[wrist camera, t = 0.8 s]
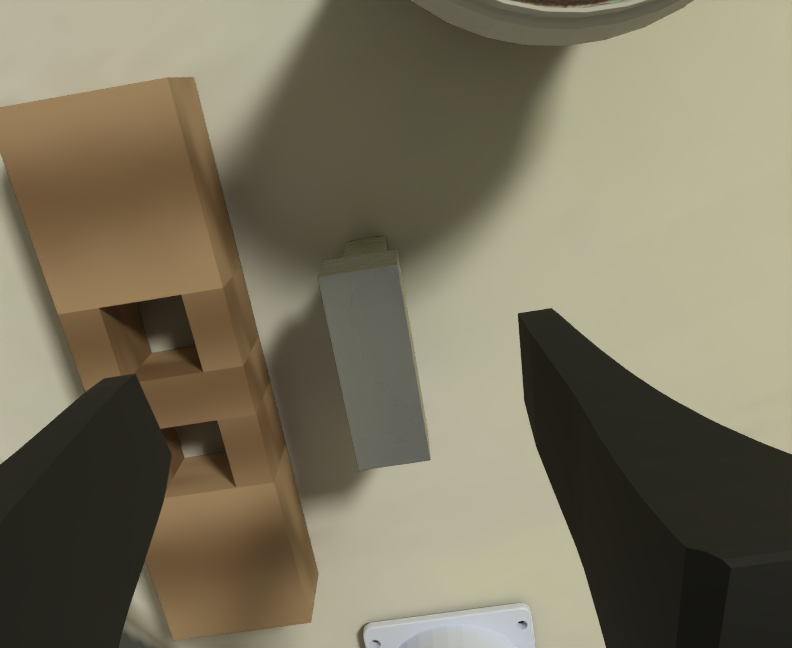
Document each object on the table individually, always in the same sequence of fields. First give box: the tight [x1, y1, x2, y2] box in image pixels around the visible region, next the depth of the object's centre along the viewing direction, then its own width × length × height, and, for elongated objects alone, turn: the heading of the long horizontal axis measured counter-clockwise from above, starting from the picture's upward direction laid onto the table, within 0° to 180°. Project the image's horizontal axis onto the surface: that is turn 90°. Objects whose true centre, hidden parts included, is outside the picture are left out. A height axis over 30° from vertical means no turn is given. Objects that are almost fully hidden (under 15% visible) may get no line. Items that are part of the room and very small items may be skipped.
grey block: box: [318, 236, 430, 470], centre depth 25 cm, size 7×2×6 cm, turn 9°
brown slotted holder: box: [0, 77, 318, 641], centre depth 27 cm, size 22×6×3 cm, turn 9°
